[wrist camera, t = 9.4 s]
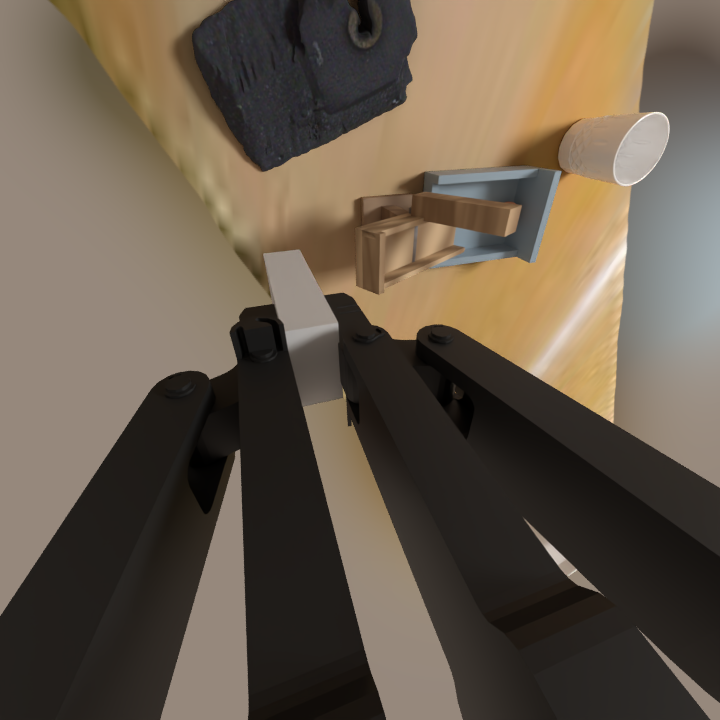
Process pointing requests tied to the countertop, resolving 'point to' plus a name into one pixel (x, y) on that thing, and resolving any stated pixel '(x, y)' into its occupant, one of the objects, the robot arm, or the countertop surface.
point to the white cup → (615, 147)
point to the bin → (503, 185)
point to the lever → (424, 236)
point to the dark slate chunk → (303, 69)
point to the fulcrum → (384, 207)
